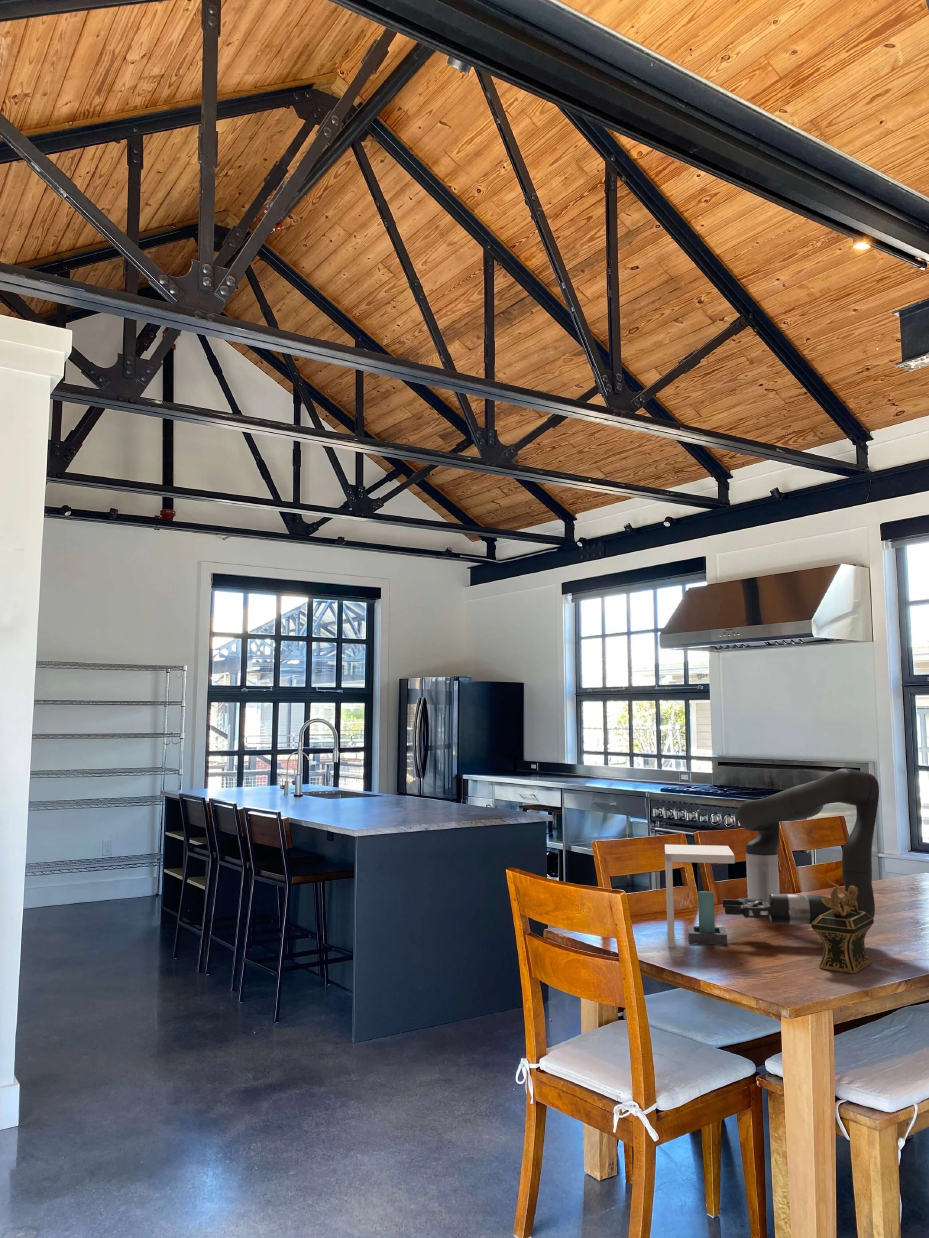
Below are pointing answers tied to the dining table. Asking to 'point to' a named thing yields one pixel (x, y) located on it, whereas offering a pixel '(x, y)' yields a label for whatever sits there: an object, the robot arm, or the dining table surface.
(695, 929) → the socket
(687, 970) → the dining table surface
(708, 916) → the peg
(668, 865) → the white inverted l bracket
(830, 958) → the decorative box
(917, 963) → the dining table surface
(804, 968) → the dining table surface
